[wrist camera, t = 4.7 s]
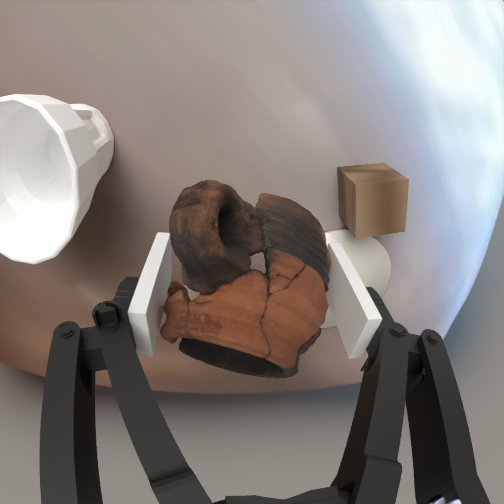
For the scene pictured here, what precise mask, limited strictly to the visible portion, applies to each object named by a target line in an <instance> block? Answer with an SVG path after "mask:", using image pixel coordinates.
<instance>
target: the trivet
mask: <svg viewBox="0 0 504 504" xmlns="http://www.w3.org/2000/svg"><path fill="white" fill-rule="evenodd" d="M325 236H326V244H327V247H328V244H329V243H340V244H341V246H342V247H343V249H344V251H345V252H346V254H347V256H348V258H349V259H350V261H351V263H352V264H353V266H354V268H355V270H356V271H357V273H358V275H359V277H360V279H361V280H362V282H363V284H364V286H365V287H372V288H373V289H374V290H375V291H377V292H378V294H379V295H380V297H382V295H383V294H384V292H385V290H386V288H387V286H388V283H389V280H390V275H391V262H390V258H389V255H388V253H387V251H386V250H385V248H384V247H383V245H382V244H381V243H380V242H379V241H378V240H377V239H376V238H374V237H373V236H372V237H365V238H359V239H355V238H354V236H353V235H352V233H351V232H350V230H349V229H338V230H332V231H327V232H325ZM328 305H329V304H328ZM336 326H337V325H336V323H335V320H334V317H333V315H332V312H331V309H330V307H328V309H327V312H326V315H325V322H324V323H323V324H322V325H321V326H320V328H330V327H336Z"/></svg>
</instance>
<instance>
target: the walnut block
mask: <svg viewBox="0 0 504 504" xmlns="http://www.w3.org/2000/svg"><path fill="white" fill-rule="evenodd" d="M337 171H338V194H339V215H340V217H341V218H342V220H343V221H344V223H345V224H346V226H347V227H348V229H349V230H350V232H351V233H352V235H353V236H354V238H355V239H359V238H365V237H372V236H378V235H384V234H390V233H397V232H403V231H405V224H406V213H407V201H408V185H409V179H407V178H406V177H404V176H403V175H402V174H400V173H399V172H397V171H396V170H394V169H393V168H391V167H390V166H388V165H387V164H385V163H378V164H366V165H355V166H345V167H337Z"/></svg>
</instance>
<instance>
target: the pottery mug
mask: <svg viewBox="0 0 504 504" xmlns="http://www.w3.org/2000/svg"><path fill="white" fill-rule="evenodd" d="M169 233H170V240H171V244H172V247H173V250H174V252H175V254H176V256H177V257H178V258H179V260H180V262H181V263H182V277H183V282H184V284H185V285H186V286H187V287H188V288H189V289H190V290H192V291H195V292H199V293H200V295H199V296H198V297H196V298H195V299H193V300H191V299H190V297H189V295H188V290H187V289H186V287H184V286H182V285H181V284H179V283H177V282H172V284H171V286H170V288H169V289H168V299H167V300H166V302H165V305H164V306H163V308H164V309H163V310H164V311H165V313H166V315H167V319H166V322H165V324H164V325H163V326H162V327H161V330H160V334H161V336H162V338H163V339H165V340H167V341H169V342H170V343H172V344H173V343H175V342H176V340H177V338H182V341H181V342H180V345H179V350H180V351H181V352H183V353H184V354H186V355H188V356H190V357H192V358H194V359H197V360H200V361H202V362H205V363H207V364H209V365H213V366H216V367H219V368H222V369H226V370H229V371H233V372H237V373H242V374H247V375H252V376H259V377H267V378H286V377H291V376H293V375H295V374H296V373H297V372H298V361H299V356H300V355H301V354H302V353H305V352H306V351H307V350H308V349H309V347H310V346H312V345H313V344H314V342H315V341H316V339H317V338H318V337H319V336H320V333H321V328H320V326H321V325H322V324H323V323H324V322H325V315H326V312H327V309H328V307H329V305H328V301H327V299H326V292H327V291H328V290H329V288H328V285H329V281H330V278H329V276H328V275H329V272H330V266H331V259H330V254H329V252H328V248H327V244H326V236H325V232H324V230H323V228H322V226H321V225H320V223H319V221H318V220H317V219H316V218H315V217H314V216H313V215H312V214H311V212H309V211H308V210H307V209H305V208H303V207H302V206H300V205H299V204H298V203H296V202H294V201H292V200H290V199H287V198H283V197H280V196H276V195H271V194H265V193H262V194H260V196H259V202H257V204H256V207H255V208H254V207H253V206H252V205H251V204H250V203H248V202H246V201H244V200H243V199H241V197H240V196H239V195H238V194H237V193H236V191H235V190H234V189H233V188H232V187H231V186H229V185H227V184H223V183H220V182H218V181H215V180H205V181H201V182H199V183H197V184H195V185H193V186H191V187H187V188H185V189H183V191H182V192H181V194H180V196H179V197H178V200H177V201H176V203H175V205H174V207H173V209H172V213H171V216H170V222H169ZM259 252H263V253H264V257H265V266H266V273H262V272H261V271H259V270H256V269H250V265H251V258H250V256H252V255H254V254H256V253H259Z"/></svg>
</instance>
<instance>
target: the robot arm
mask: <svg viewBox="0 0 504 504" xmlns="http://www.w3.org/2000/svg"><path fill="white" fill-rule="evenodd" d="M327 248H328V252H329V254H330V259H331V266H330V272H329V275H328V276H329V278H330V281H329V285H328V288H329V290H328V291H327V292H326V299H327V301H328V304H329V307H330V309H331V312H332V315H333V317H334V320H335V323H336V325H337V328H338V331H339V334H340V336H341V339H342V342H343V344H344V347H345V350H346V353H347V356H348V358H349V359H353V358H362V357H363V355H364V353H365V351H366V350H367V353H368V355H369V356H368V358H367V360H366V362H365V363H364V365H363V367H362V369H361V371H363V370H364V373H363V378H362V383H361V388H360V393H359V397H358V402H357V406H356V410H355V414H354V418H353V422H352V426H351V430H350V433H349V437H348V441H347V444H346V448H345V451H344V454H343V458H342V461H341V464H340V467H339V470H338V473H337V476H336V478H335V479H334V481H333V482H332V484H331V486H330V487H327V488H321V489H315V490H310V491H307V492H305V493H302V494H300V495H297V496H294V497H291V498H288V499H283V500H282V499H274V498H267V497H261V496H255V495H253V496H226V498H225V500H221V501H217V502H214V503H212V501H211V500H210V498H209V497H208V495H207V494H206V492H205V490H204V489H203V487H202V485H201V484H200V482H199V481H198V479H197V477H196V475H195V474H194V472H193V471H192V470H191V468H190V467H189V465H188V464H187V462H186V460H185V458H184V457H183V455H182V453H181V451H180V449H179V447H178V445H177V443H176V442H175V439H174V438H173V436H172V434H171V432H170V430H169V428H168V426H167V423H166V421H165V419H164V417H163V415H162V413H161V411H160V409H159V406H158V404H157V402H156V400H155V397H154V395H153V393H152V391H151V388H150V386H149V383H148V381H147V379H146V376H145V374H144V371H143V369H142V366H141V364H140V361H139V359H138V356H137V354H138V355H143V356H153V357H154V352H155V347H156V342H157V337H158V332H159V327H160V323H161V318H162V313H163V309H164V308H163V306H164V305H165V300H166V296H167V292H168V287H169V283H170V279H171V275H172V258H171V240H170V233H160V232H158V233H157V235H156V238H155V240H154V243H153V245H152V248H151V250H150V253H149V255H148V258H147V260H146V263H145V266H144V268H143V271H142V273H141V276H140V278H137V277H126V278H125V279H124V280H123V281H122V282H121V283H120V285H119V287H118V291H117V292H116V295H115V297H114V299H113V301H104V302H102V303H99V304H98V305H97V306H95V308H94V309H93V313H92V315H93V319H94V322H95V325H96V326H94V327H89V328H82V329H80V327H79V326H78V324H77V323H75V322H71V321H67V322H63V323H61V324H59V325H58V326H57V327H56V328H55V330H54V332H53V337H52V342H51V347H50V353H49V359H48V365H47V371H46V378H45V386H44V394H43V403H42V415H41V429H40V489H41V503H42V504H103V501H102V494H101V487H100V479H99V470H98V459H97V446H96V428H95V371H99V370H108V374H109V377H110V381H111V384H112V387H113V390H114V393H115V396H116V399H117V402H118V405H119V408H120V411H121V414H122V416H123V419H124V422H125V425H126V427H127V430H128V432H129V435H130V437H131V440H132V443H133V445H134V447H135V450H136V452H137V454H138V457H139V459H140V461H141V464H142V466H143V468H144V470H145V472H146V474H147V477H148V479H149V482H150V485H151V488H152V490H153V492H154V494H155V496H156V498H157V500H158V502H159V503H160V504H395V501H396V497H397V493H398V488H399V484H400V479H401V473H402V465H401V463H399V462H398V461H397V457H398V451H399V445H400V439H401V432H402V424H403V415H404V407H405V401H406V407H407V414H408V421H409V429H410V436H411V446H412V457H413V469H414V484H415V497H416V502H417V504H490V502H489V499H488V497H487V495H486V493H485V490H484V488H483V486H482V484H481V481H480V479H479V477H478V475H477V471H476V465H475V459H474V453H473V448H472V443H471V438H470V433H469V428H468V424H467V420H466V415H465V411H464V408H463V404H462V400H461V396H460V393H459V389H458V386H457V382H456V379H455V376H454V373H453V369H452V366H451V363H450V360H449V357H448V354H447V351H446V349H445V346H444V343H443V340H442V338H441V336H440V335H439V334H438V333H437V332H435V331H434V330H430V329H425V330H424V331H423V332H422V333H421V335H420V336H419V335H414V334H409V333H408V331H407V330H406V328H405V327H404V326H402V325H401V324H399V323H396V322H394V320H393V318H392V317H391V315H390V313H389V311H388V309H387V308H386V306H385V304H384V302H383V301H382V299H381V297H380V295H379V294H378V292H377V291H375V290H374V289H373V288H372V287H365V286H364V284H363V282H362V280H361V279H360V277H359V275H358V273H357V271H356V270H355V268H354V266H353V264H352V263H351V261H350V259H349V258H348V256H347V254H346V252H345V251H344V249H343V247H342V246H341V244H340V243H329V244H328V247H327ZM135 350H137V353H136V351H135Z"/></svg>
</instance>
